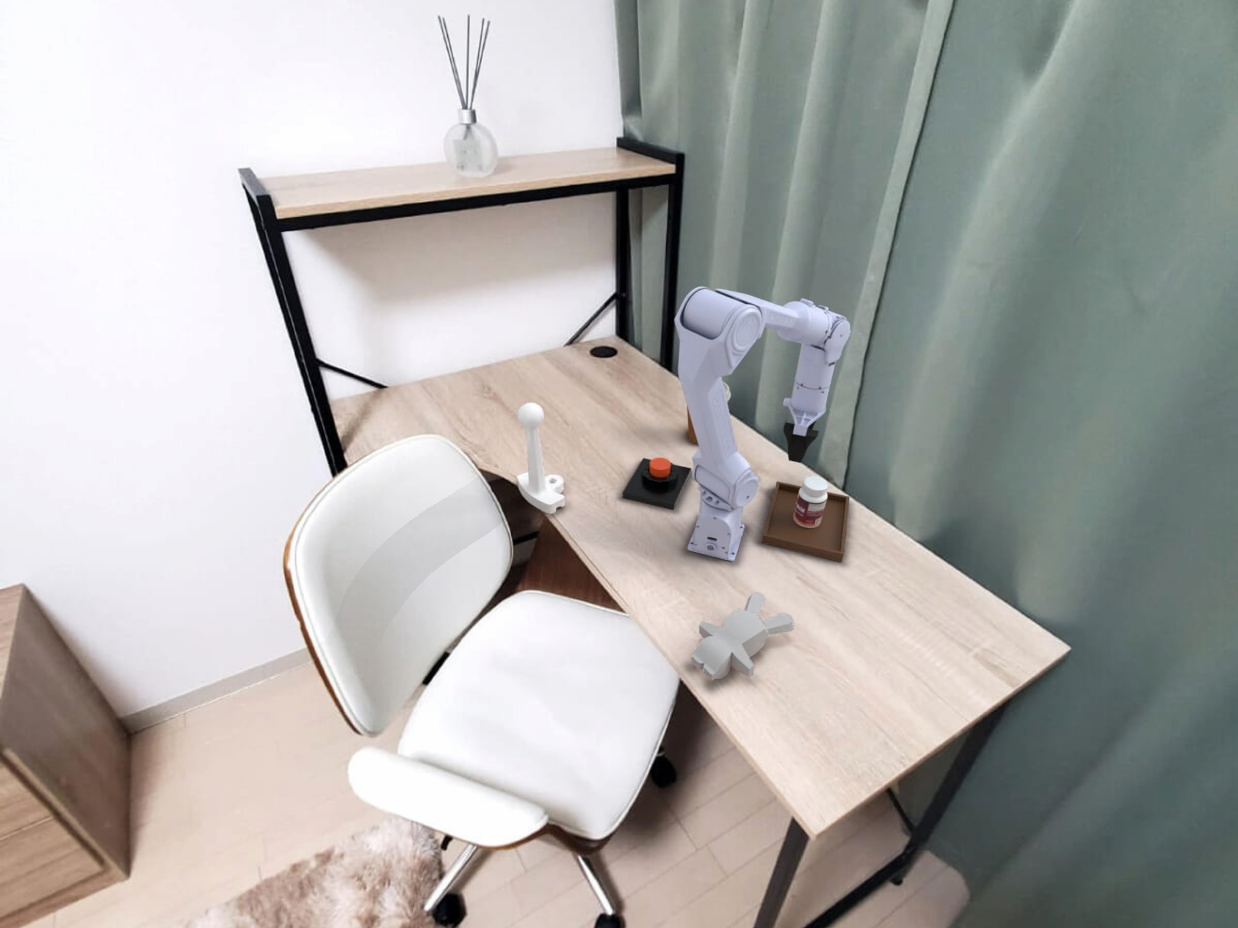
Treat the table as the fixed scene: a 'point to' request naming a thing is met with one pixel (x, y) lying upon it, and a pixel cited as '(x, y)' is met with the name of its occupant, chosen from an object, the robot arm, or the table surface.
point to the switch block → (657, 485)
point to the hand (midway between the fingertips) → (798, 449)
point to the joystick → (538, 465)
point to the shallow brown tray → (811, 541)
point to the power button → (660, 467)
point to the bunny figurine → (737, 639)
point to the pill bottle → (811, 502)
